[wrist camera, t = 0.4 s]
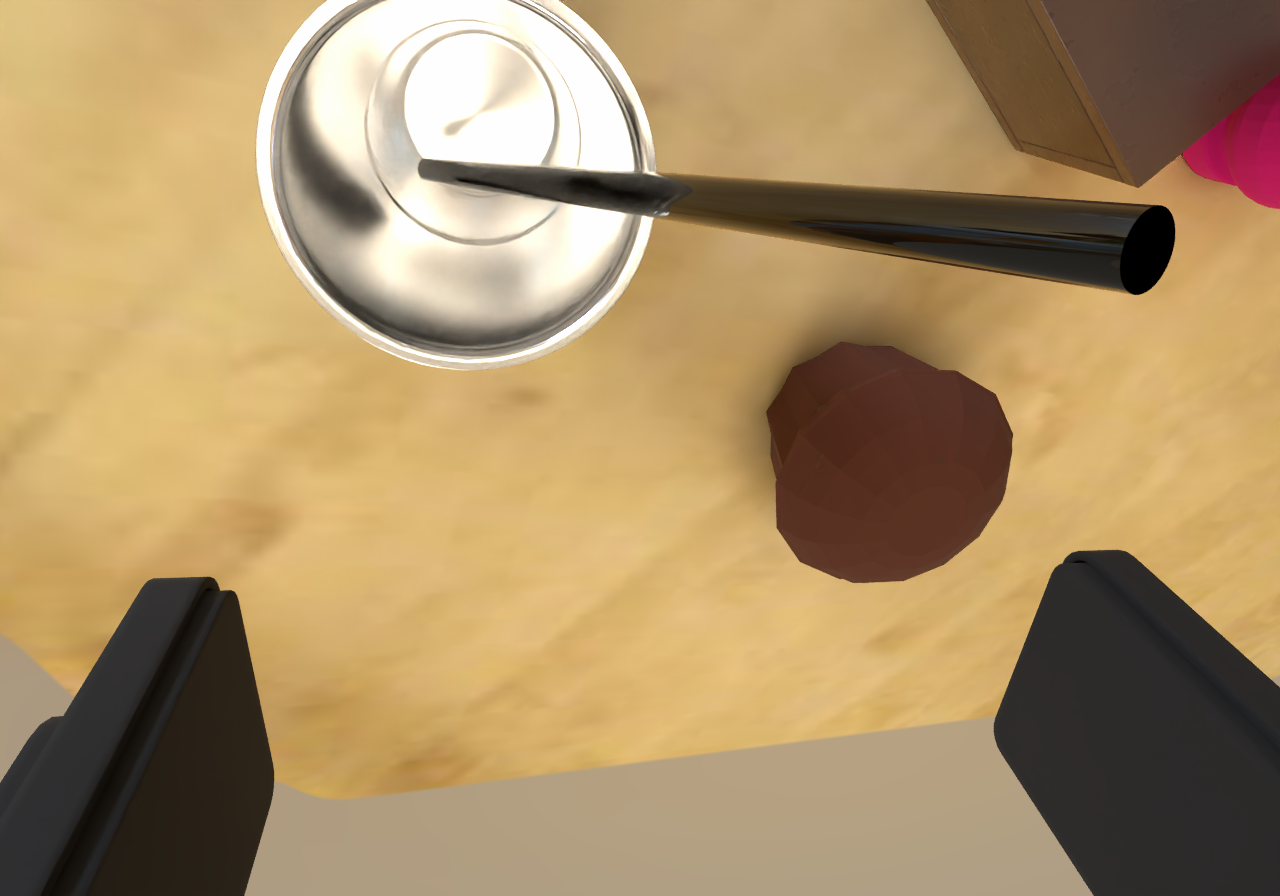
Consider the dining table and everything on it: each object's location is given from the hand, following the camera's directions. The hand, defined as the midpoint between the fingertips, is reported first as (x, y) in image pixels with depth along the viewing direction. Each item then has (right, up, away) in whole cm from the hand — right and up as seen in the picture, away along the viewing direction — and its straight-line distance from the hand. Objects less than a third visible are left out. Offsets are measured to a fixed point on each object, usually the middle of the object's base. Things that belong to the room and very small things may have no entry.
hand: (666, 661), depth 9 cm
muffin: (+11, +4, +35) cm, 36 cm away
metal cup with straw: (-6, +17, +25) cm, 31 cm away
